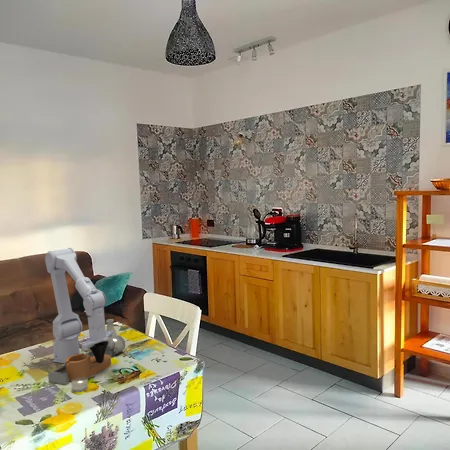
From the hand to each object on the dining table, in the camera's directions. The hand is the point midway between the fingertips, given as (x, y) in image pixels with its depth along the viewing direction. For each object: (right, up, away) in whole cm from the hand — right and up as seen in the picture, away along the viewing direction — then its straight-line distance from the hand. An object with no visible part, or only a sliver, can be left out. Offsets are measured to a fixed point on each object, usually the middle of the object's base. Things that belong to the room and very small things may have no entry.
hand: (99, 362), depth 149 cm
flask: (-4, -2, +29) cm, 30 cm away
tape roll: (-3, -5, -13) cm, 14 cm away
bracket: (-4, -4, +1) cm, 6 cm away
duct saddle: (-5, -3, +5) cm, 8 cm away
